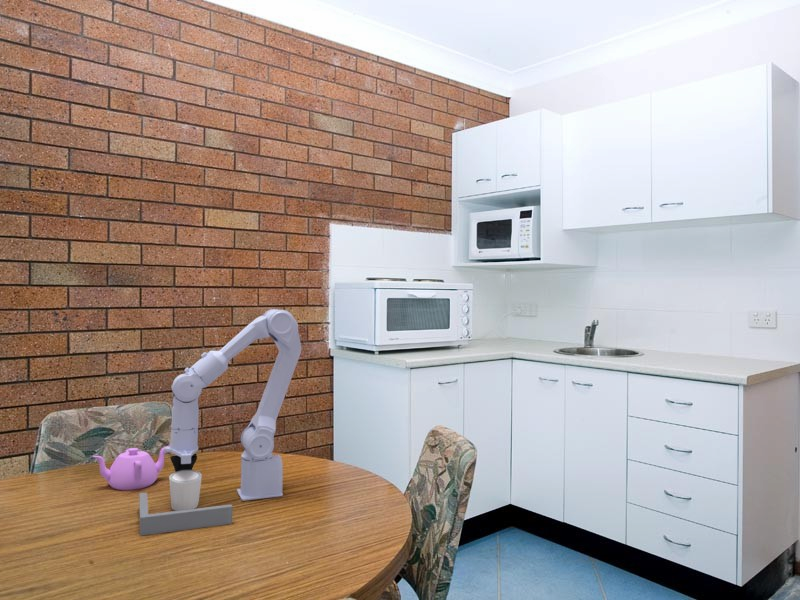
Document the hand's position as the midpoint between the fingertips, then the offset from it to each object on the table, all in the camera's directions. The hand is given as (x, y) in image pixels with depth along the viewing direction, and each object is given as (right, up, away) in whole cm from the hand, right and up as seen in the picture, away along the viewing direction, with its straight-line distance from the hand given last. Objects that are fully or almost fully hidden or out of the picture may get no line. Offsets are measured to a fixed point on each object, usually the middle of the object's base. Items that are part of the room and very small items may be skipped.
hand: (182, 487), depth 138 cm
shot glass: (+1, -3, -3) cm, 4 cm away
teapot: (-17, -3, +13) cm, 22 cm away
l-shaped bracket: (+4, -4, -8) cm, 10 cm away
